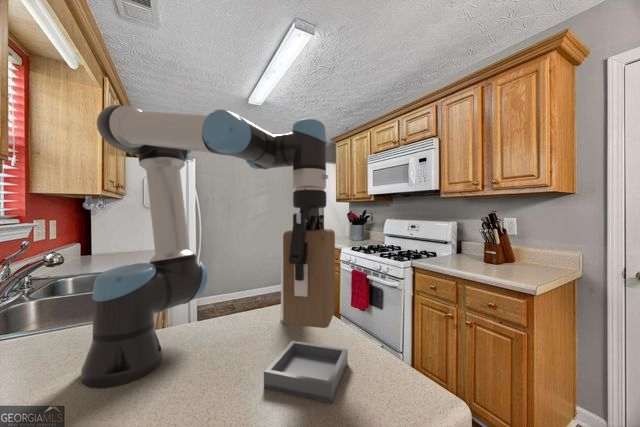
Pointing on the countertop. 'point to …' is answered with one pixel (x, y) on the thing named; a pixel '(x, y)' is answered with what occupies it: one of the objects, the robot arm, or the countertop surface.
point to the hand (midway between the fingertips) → (310, 288)
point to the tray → (307, 371)
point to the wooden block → (311, 281)
